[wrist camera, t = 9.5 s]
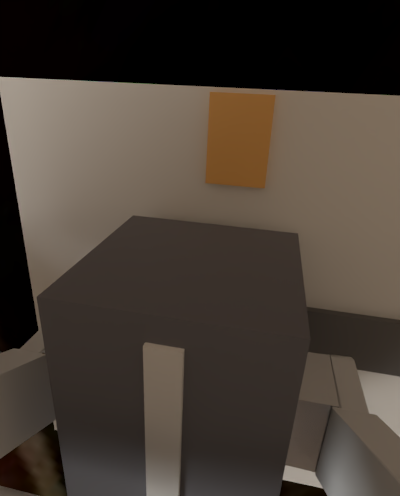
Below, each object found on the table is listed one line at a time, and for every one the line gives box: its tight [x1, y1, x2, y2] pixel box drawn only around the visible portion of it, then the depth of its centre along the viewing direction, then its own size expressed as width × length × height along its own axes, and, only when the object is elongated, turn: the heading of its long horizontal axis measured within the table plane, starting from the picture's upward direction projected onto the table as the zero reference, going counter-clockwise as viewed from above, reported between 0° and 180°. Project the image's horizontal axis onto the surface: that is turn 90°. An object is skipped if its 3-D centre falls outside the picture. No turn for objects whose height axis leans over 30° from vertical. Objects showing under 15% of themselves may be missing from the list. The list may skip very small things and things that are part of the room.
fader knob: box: [37, 215, 311, 496], centre depth 8 cm, size 4×6×4 cm, turn 178°
